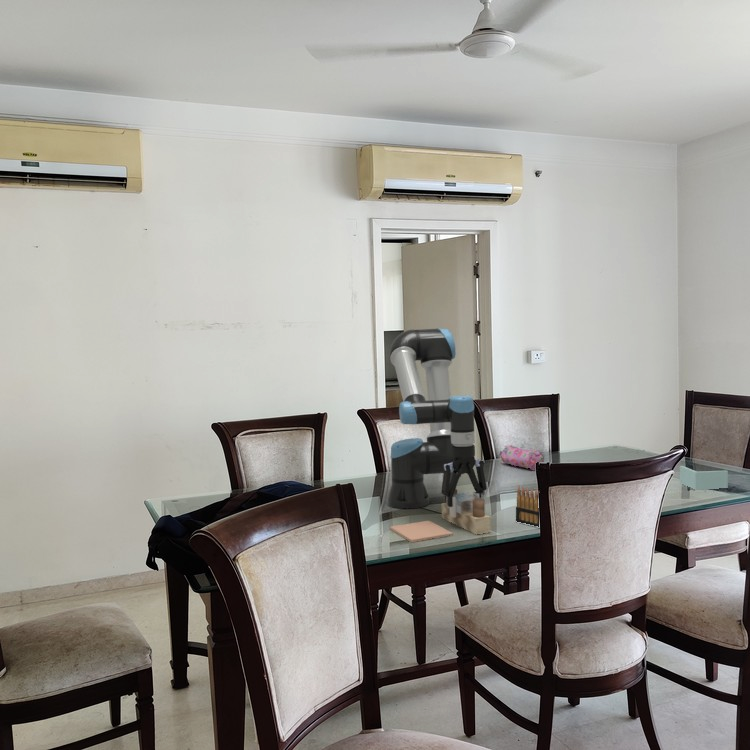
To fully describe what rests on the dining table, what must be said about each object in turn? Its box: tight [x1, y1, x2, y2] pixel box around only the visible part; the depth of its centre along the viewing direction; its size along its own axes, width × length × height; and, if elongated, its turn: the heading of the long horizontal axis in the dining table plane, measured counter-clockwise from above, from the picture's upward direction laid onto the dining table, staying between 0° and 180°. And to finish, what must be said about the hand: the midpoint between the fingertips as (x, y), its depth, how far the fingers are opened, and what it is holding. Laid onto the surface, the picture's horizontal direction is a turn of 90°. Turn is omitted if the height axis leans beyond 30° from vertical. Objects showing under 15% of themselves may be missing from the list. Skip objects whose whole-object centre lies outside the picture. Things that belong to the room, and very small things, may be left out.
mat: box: [389, 520, 454, 543], centre depth 214 cm, size 16×14×1 cm
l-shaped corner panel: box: [679, 465, 729, 490], centre depth 257 cm, size 12×12×8 cm
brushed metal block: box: [447, 492, 484, 514], centre depth 220 cm, size 9×8×4 cm
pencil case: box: [499, 445, 545, 471], centre depth 308 cm, size 21×9×9 cm, turn 27°
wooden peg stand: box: [441, 488, 491, 536], centre depth 220 cm, size 22×5×10 cm, turn 23°
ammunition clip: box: [515, 485, 539, 527], centre depth 218 cm, size 11×2×12 cm, turn 38°
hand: (464, 514), depth 220 cm, fingers closed on brushed metal block, 8 cm apart
